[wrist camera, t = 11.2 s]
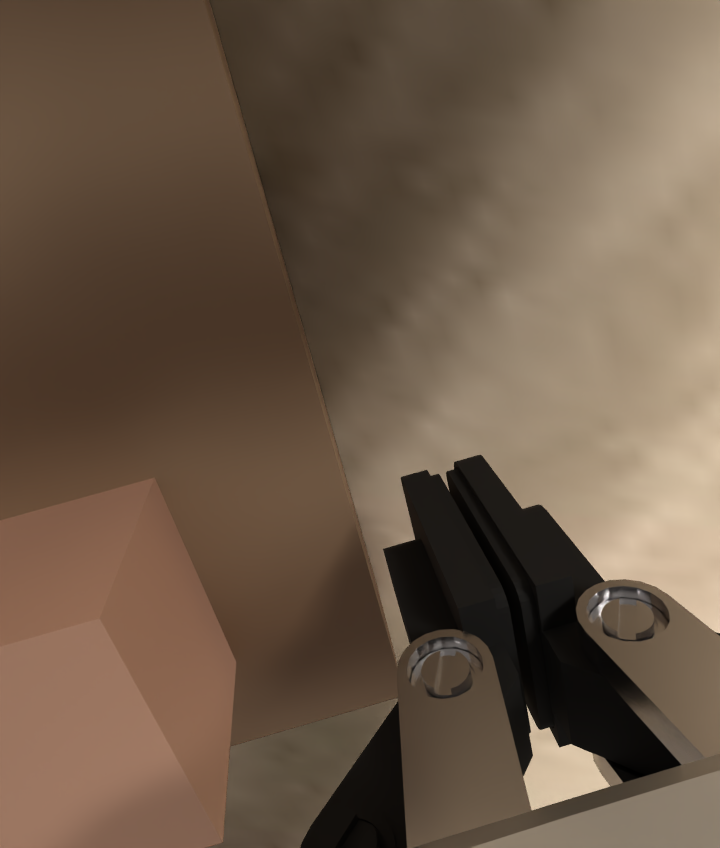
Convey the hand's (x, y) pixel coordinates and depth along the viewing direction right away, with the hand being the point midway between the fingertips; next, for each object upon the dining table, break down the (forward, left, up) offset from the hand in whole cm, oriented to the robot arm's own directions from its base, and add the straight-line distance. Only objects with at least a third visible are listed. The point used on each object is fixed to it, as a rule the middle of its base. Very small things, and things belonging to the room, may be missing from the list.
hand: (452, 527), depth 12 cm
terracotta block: (0, -8, -1) cm, 8 cm away
